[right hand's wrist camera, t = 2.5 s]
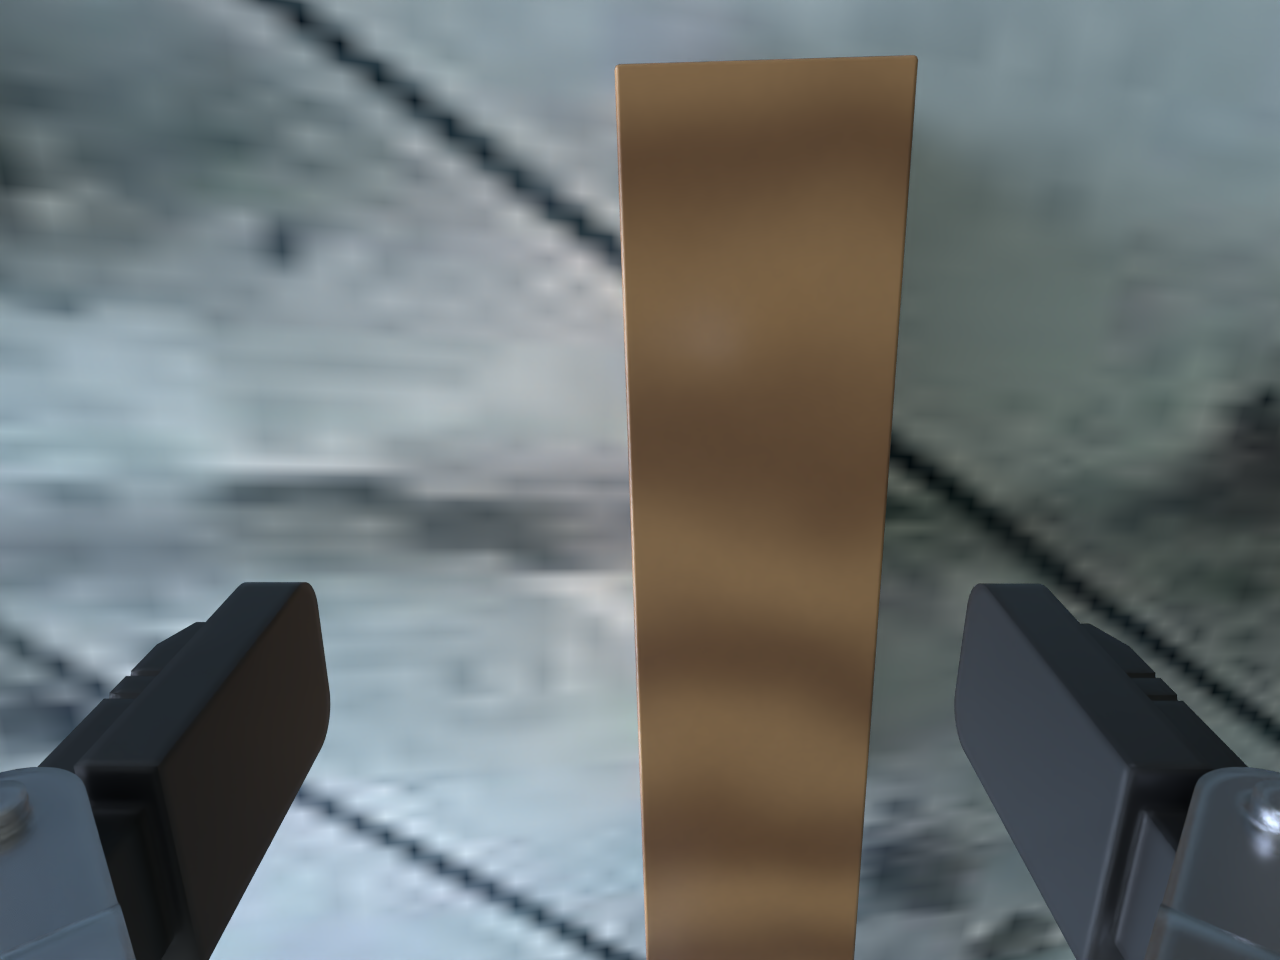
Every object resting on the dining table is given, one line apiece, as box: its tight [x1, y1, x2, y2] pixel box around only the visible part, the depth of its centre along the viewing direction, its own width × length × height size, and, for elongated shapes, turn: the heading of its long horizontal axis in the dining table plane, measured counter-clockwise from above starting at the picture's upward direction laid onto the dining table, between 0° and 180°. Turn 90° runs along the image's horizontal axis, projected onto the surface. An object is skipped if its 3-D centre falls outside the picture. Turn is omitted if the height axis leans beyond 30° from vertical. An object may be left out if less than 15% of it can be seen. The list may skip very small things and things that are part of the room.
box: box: [615, 55, 918, 960], centre depth 28 cm, size 28×6×12 cm, turn 2°
